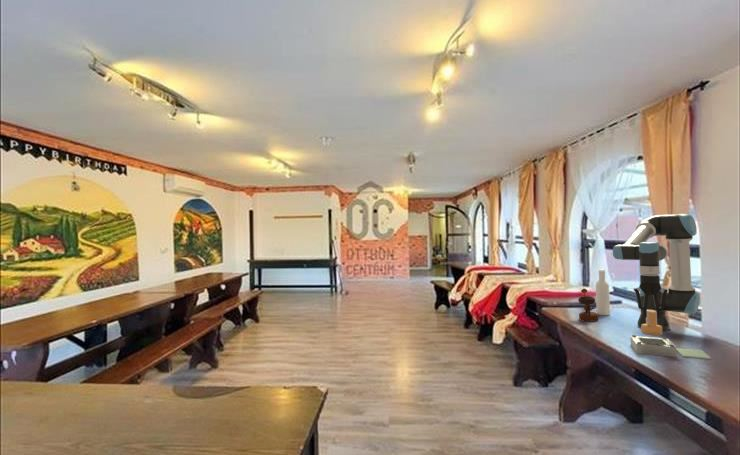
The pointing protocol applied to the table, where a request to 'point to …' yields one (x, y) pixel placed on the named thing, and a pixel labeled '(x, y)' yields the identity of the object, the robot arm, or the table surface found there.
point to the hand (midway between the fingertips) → (651, 324)
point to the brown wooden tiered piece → (587, 308)
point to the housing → (653, 346)
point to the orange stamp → (652, 325)
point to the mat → (692, 353)
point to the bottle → (602, 295)
